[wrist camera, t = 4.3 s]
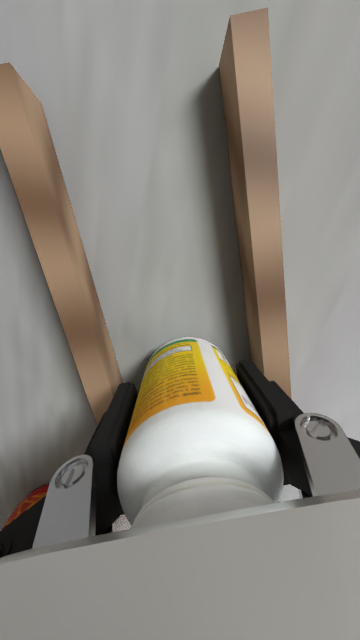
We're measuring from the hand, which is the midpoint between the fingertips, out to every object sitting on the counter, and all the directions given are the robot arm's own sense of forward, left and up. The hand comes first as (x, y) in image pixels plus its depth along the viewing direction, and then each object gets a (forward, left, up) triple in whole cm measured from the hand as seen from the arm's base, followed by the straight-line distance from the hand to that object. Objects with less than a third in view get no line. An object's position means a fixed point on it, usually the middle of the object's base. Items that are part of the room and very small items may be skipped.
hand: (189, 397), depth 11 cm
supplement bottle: (0, 0, -3) cm, 3 cm away
